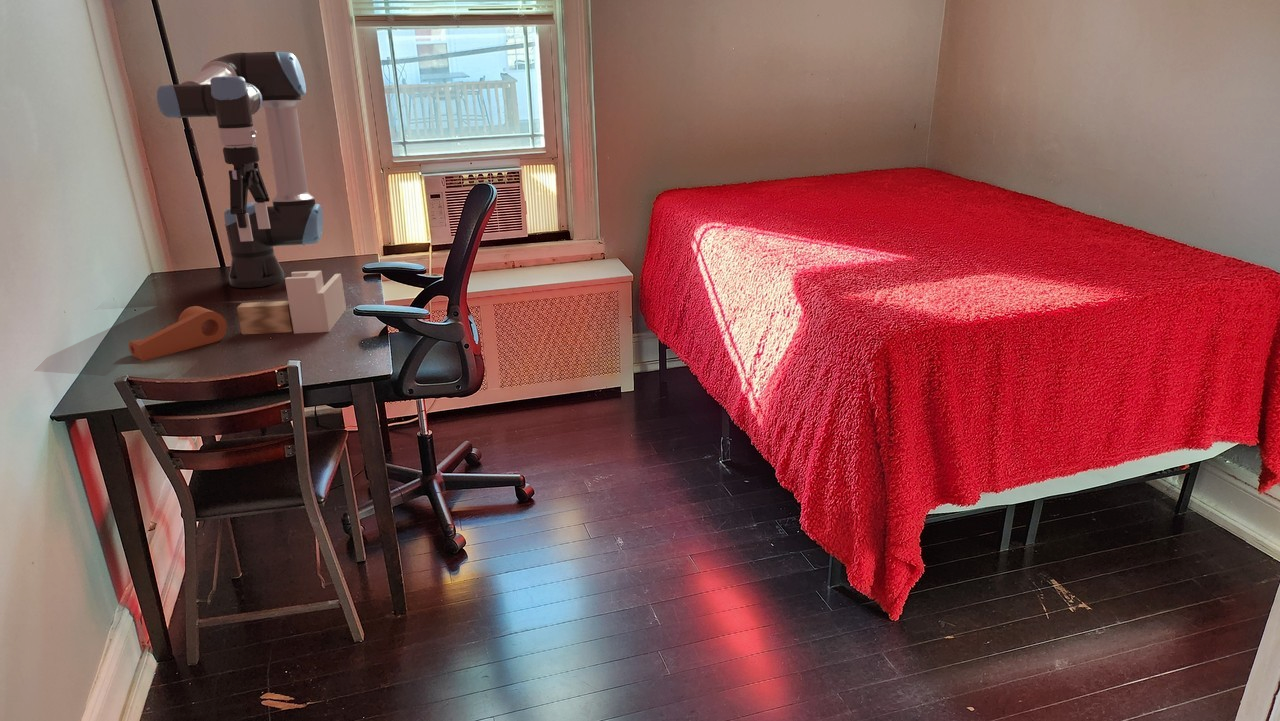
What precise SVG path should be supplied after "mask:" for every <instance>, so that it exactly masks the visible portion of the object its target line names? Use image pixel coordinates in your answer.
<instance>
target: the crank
mask: <svg viewBox="0 0 1280 721" xmlns="http://www.w3.org/2000/svg"><path fill="white" fill-rule="evenodd" d="M227 328H228V326H227V321H226V319H225V317H224V316H223V315H222V314H220V313H219V312H216V311H214V310H211V309H208V308H204V307H202V306H198V305H193V306H189V307H187V308H185V309H184V310H183V311H181V313H180V315H179V316H178V319H177V322H175V323H173V324H171V325H168V326H166V327H165V328H163V329H161V330H159V331H156V332H155V333H153V334H151V335H149V336H147V337H145V338H142V339H139V338H138V339H135V340H131V341H129V342H128V349H129V351H130V354H131V355H132V357H134V358H136V359H138V360H140V361H142V362H144V361H149V360H152V359H156V358H159V357H163V356H167V355H171V354H175V353H179V352H182V351H183V352H184V351H186V350H189V349H193V348H198V347H201V346H205V345H209V344H212V343H216V342H219V341H221V340H222V339H223V338H224V336H225V334H226V332H227Z"/></svg>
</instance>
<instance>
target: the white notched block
mask: <svg viewBox="0 0 1280 721" xmlns="http://www.w3.org/2000/svg"><path fill="white" fill-rule="evenodd" d="M290 273H291V274H290V275H291V276H288V277H285V279H284V282H285V287H286V292H287V293H286V294H287V301H289V306H290V312H291V318H292V324H293V330H294V331H293V334H294V335H295V334H309V333H310V334H313V333H330V332H331V330H332V329H333V328H334V326H336V324H337V322H338V321H339V320H340V319H341V317H342V316H343V315H344V313H345V312H346V311H347V305H346V298H345V292H344V285H343V284H344V283H343V278H342V273H334V275H332V277H331V278H330V279H329V280H328V281H327V282H326V283H325V284H324V277H323V271H322V270H307V271H306V270H303V271H292V272H290ZM345 310H346V311H345ZM344 311H345V312H344ZM342 314H343V315H342Z"/></svg>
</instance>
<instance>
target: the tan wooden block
mask: <svg viewBox="0 0 1280 721" xmlns="http://www.w3.org/2000/svg"><path fill="white" fill-rule="evenodd" d="M236 312H237V315H238V322H239V326H240V331H241V334H242V335H258V334H262V335H263V334H280V333H281V334H282V333H293V332H294V330H293V324H292V318H291V312H290V306H289V301H288V300H278V301H257V302H255V301H254V302H253V301H251V302H242V303H240V304H238V306H237V307H236Z"/></svg>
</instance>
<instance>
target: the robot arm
mask: <svg viewBox="0 0 1280 721" xmlns="http://www.w3.org/2000/svg"><path fill="white" fill-rule="evenodd" d="M306 85H307V84H306V79H305V75H304V72H303V69H302V67H301V63H300V62H299V59H298V58H297V56H296V55H294V53H292V52H289V51H288V52H287V51H261V52H259V51H258V52H257V51H256V52H255V51H254V52H233V53H228V54H226V55H225V54H224V55H223V56H220V57H218V58H214V59H212V60H210V61H208V62H207V63H206V64H204V65H203V67H202V68H201V70H200V72H198V73H196V74H195V75H194V76H192V77H190V78H189V79H186V80H185V81H183V82H182V83H180V84H179V83H178V84H165V85H164V84H163V85H160V86H159V87H158V88H157V91H156V100H157V106H158V109H159V111H160V113H161V114H162V115H163V116H164V117H166V118H168V119H169V118H171V119H172V118H177V119H182V118H204V117H205V118H208V117H209V118H210V117H211V118H212V117H213V118H214V117H216V121H217V126H218V132H219V133H218V134H219V137H220V139H219V140H220V144H221V145H222V146H224V147H223V148H222V153H223V158H224V162H225V164H227V165H233V169H232V170H231V169H230V170H228V178H229V197H230V198H229V199H230V200H229V202H230V204H229V206H230V207H228V208H227V209H225V211H224V213H223V217H224V227H225V230H226V235H227V240H228V246H229V251H230V256H231V263H230V269H229V275H228V280H229V285H230V286H231V287H233V288H238V289H239V288H240V289H247V288H249V289H250V288H261V287H268V286H272V285H277V284H278V283H279V284H280V283H281V282H283V281H285V278H286V277H285V272H284V270H283V268H282V265H281V264H280V263H279V260H278V259H277V257H276V255H275V251H274V247H284V246H306V245H314V244H317V243H318V242H320V240H321V239H322V236H323V228H324V213H323V207H322V205H321V204H319V203H316V199H315V197H314V195H312V194H311V193H310V191H309V189H308V188H309V187H308V181H307V174H306V166H305V159H304V152H303V144H302V138H301V136H302V135H301V130H300V129H301V127H300V122H299V121H300V120H299V115H298V114H299V113H298V107H299V105H300V104H301V103H302V96H306V94H307V86H306ZM261 108H263V109H264V114H265V120H266V129H267V134H268V141H269V147H270V154H271V162H272V169H273V175H274V182H275V188H276V195H275V196H274V198H273V199H272V206H267V202H270V197H269V193H268V191H267V188H266V185H265V183H264V179H263V178H262V177H263V176H262V174H261V172H260V171H261V170H260V167H259V161H260V154H259V148H258V146H256V145H255V144H257V139H256V136H257V134H258V132H257V130H255V128H254V122H253V115H255V114H256V113H257V112H258V111H259V110H260V109H261ZM249 193H250V194H251V196H252V198H253V200H254V201H251V202H248V195H249Z"/></svg>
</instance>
